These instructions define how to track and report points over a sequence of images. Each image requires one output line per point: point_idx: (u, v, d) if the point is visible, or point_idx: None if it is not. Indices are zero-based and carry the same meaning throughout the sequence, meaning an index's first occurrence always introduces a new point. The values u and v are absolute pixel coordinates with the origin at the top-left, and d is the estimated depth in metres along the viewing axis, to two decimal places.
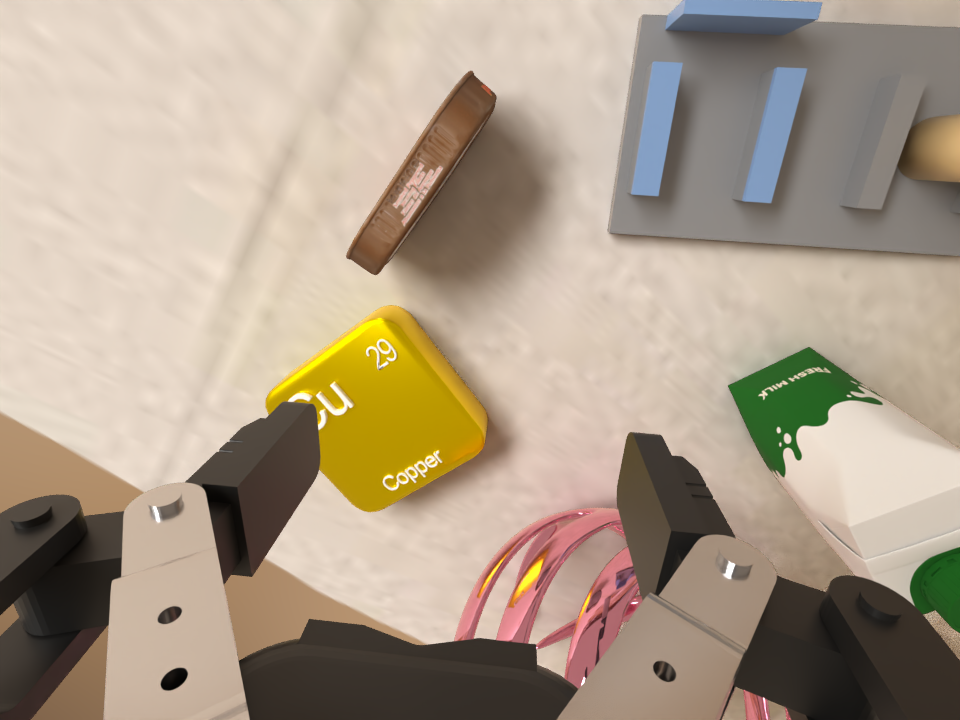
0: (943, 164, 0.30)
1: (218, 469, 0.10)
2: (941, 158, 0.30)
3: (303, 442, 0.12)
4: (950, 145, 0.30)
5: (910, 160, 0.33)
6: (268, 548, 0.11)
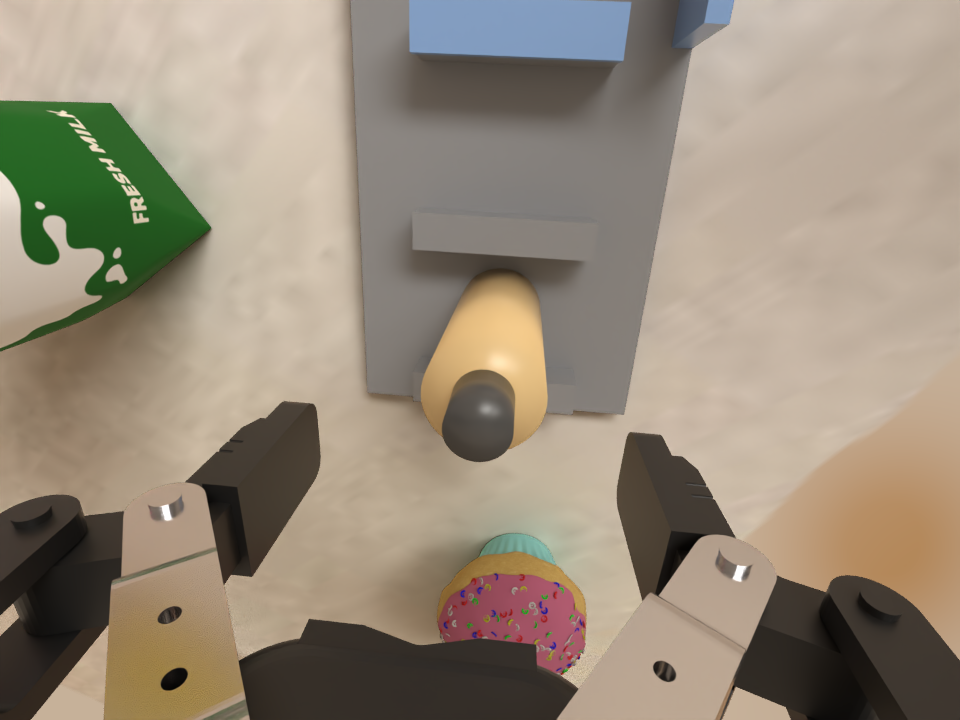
0: (472, 294, 0.20)
1: (218, 469, 0.10)
2: (480, 291, 0.20)
3: (303, 442, 0.12)
4: (497, 291, 0.20)
5: (483, 277, 0.23)
6: (268, 548, 0.11)
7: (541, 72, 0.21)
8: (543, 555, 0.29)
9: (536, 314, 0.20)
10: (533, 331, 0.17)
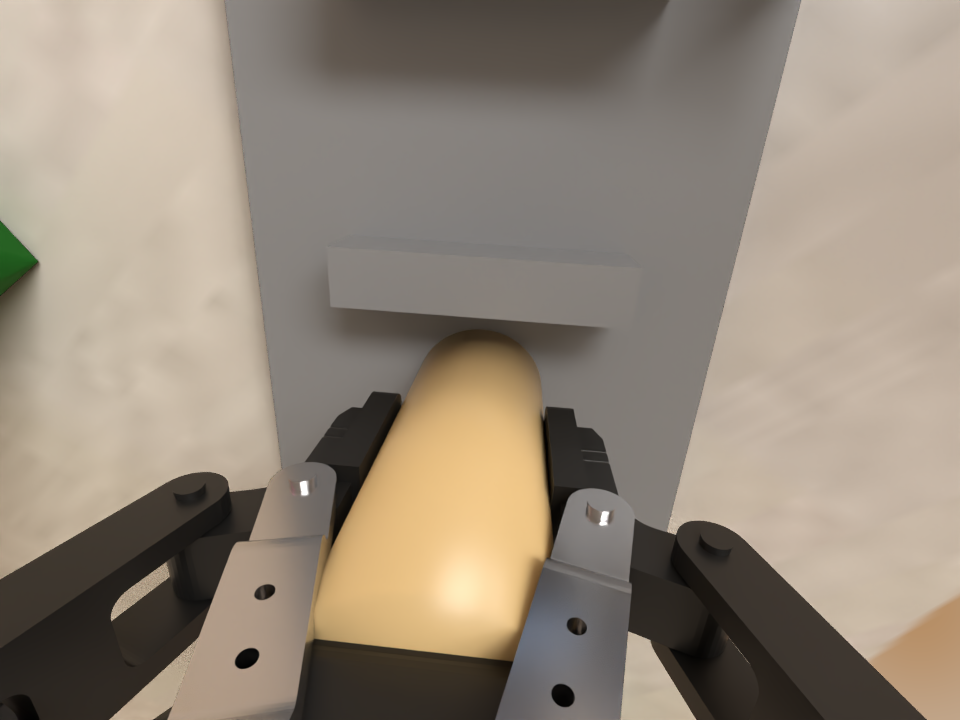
0: (424, 394, 0.12)
1: (336, 451, 0.10)
2: (438, 387, 0.12)
3: None
4: (468, 393, 0.11)
5: (450, 348, 0.14)
6: None
7: (544, 8, 0.12)
8: None
9: (536, 429, 0.12)
10: (532, 497, 0.09)
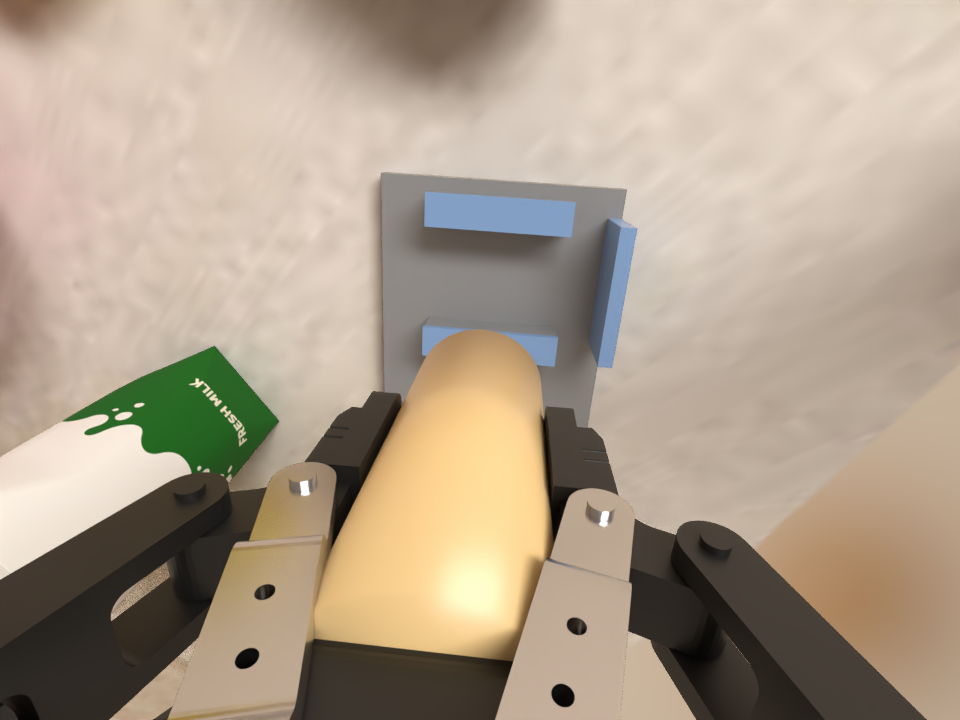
0: (424, 394, 0.12)
1: (336, 451, 0.10)
2: (438, 387, 0.12)
3: None
4: (468, 393, 0.11)
5: (450, 348, 0.14)
6: None
7: None
8: None
9: (536, 429, 0.12)
10: (532, 497, 0.09)
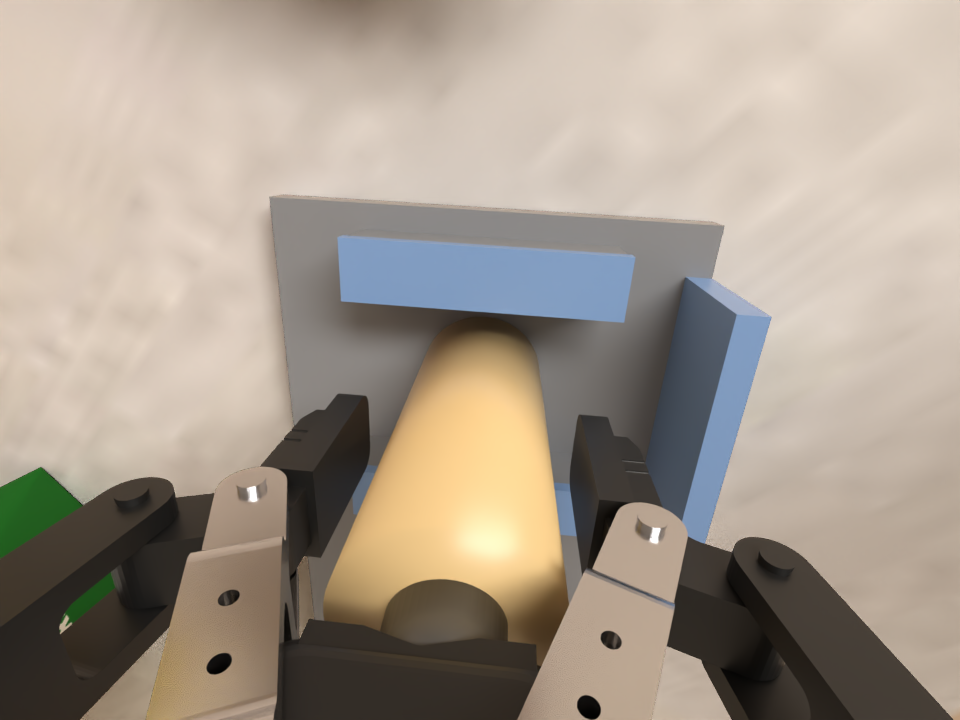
0: (435, 373, 0.13)
1: (291, 455, 0.10)
2: (448, 368, 0.13)
3: (358, 432, 0.12)
4: (475, 371, 0.12)
5: (455, 334, 0.15)
6: (332, 532, 0.11)
7: None
8: None
9: (537, 404, 0.13)
10: (537, 459, 0.10)
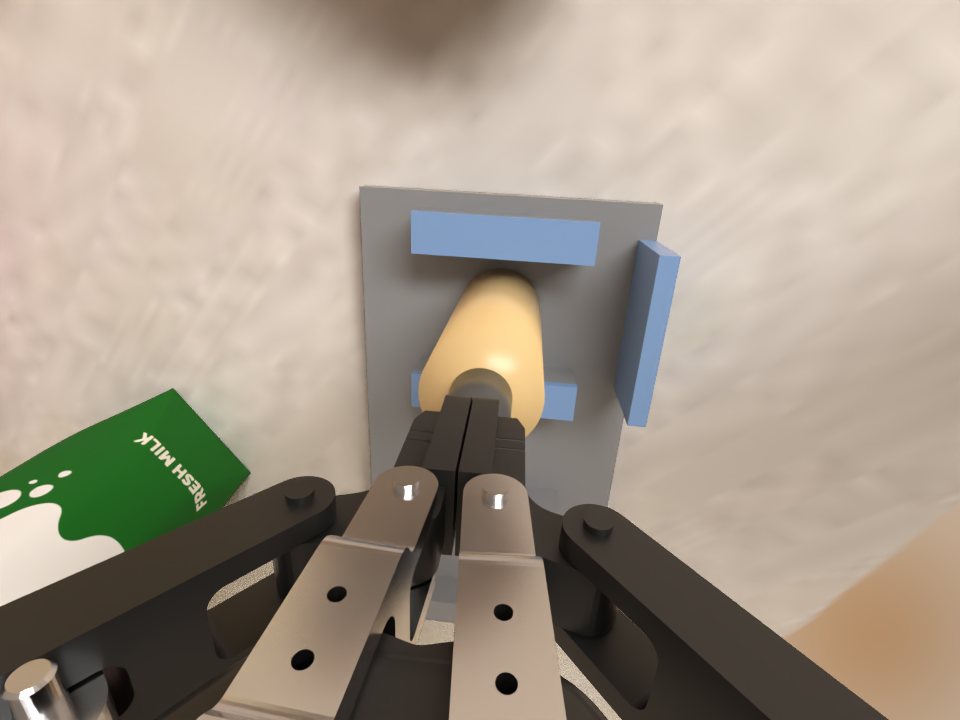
0: (471, 294, 0.20)
1: (428, 455, 0.10)
2: (479, 290, 0.20)
3: None
4: (496, 291, 0.20)
5: (483, 277, 0.23)
6: (455, 530, 0.11)
7: None
8: None
9: (535, 314, 0.20)
10: (531, 330, 0.18)
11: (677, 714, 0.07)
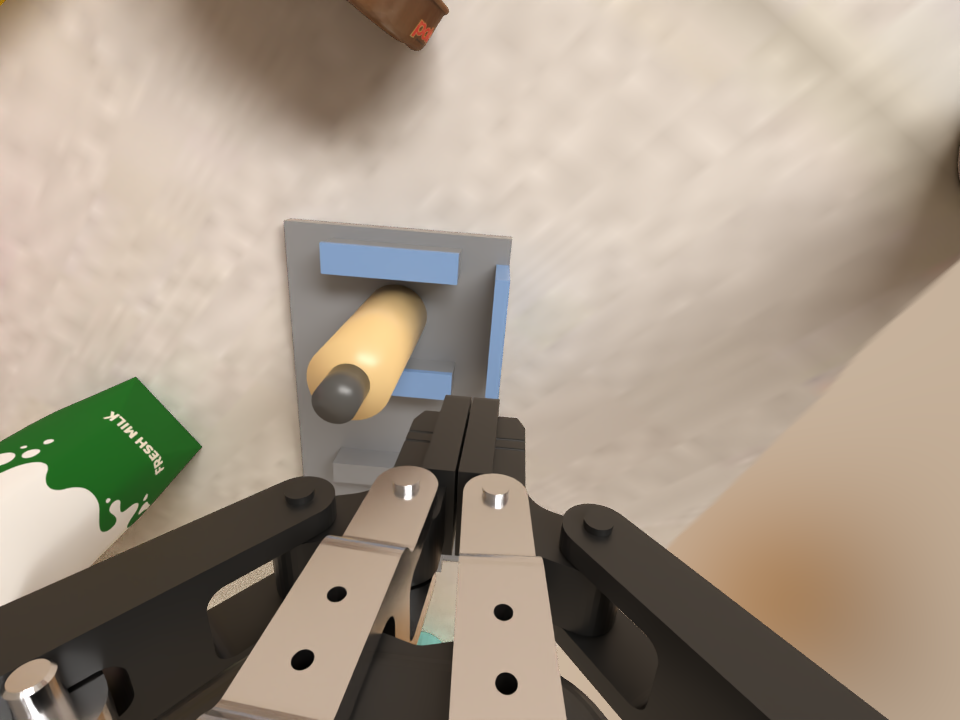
0: (361, 307, 0.28)
1: (428, 455, 0.10)
2: (367, 304, 0.28)
3: None
4: (378, 305, 0.27)
5: (378, 292, 0.30)
6: (455, 530, 0.11)
7: None
8: None
9: (408, 322, 0.28)
10: (394, 336, 0.25)
11: (677, 715, 0.07)
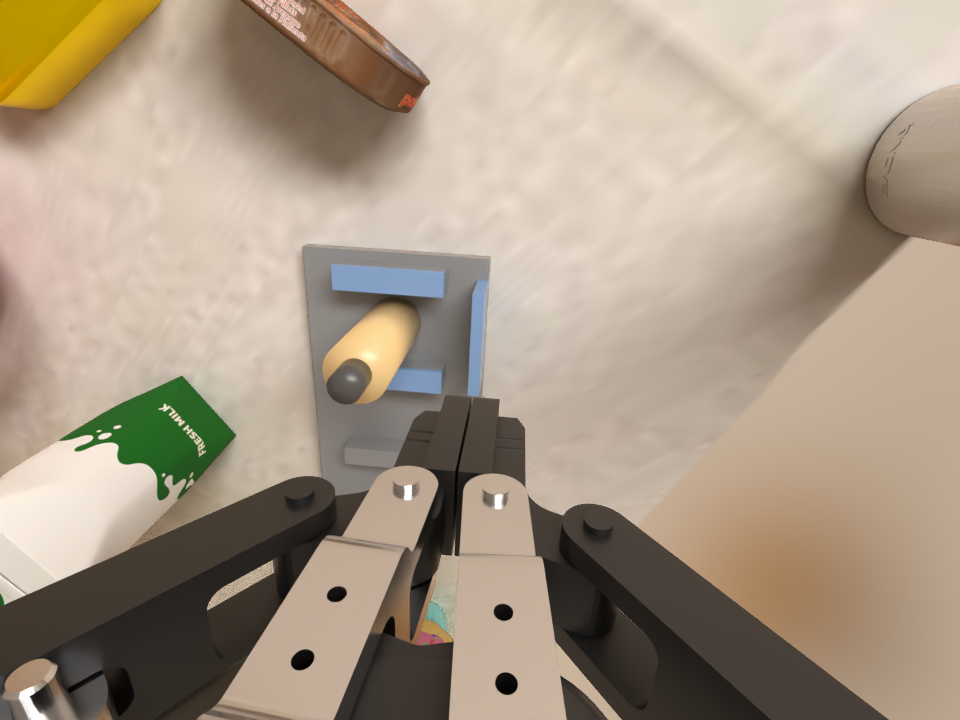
0: (366, 315, 0.34)
1: (428, 455, 0.10)
2: (371, 313, 0.34)
3: None
4: (379, 314, 0.33)
5: (380, 303, 0.36)
6: (455, 530, 0.11)
7: None
8: (433, 614, 0.49)
9: (404, 327, 0.34)
10: (391, 337, 0.31)
11: (677, 715, 0.07)
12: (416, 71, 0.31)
